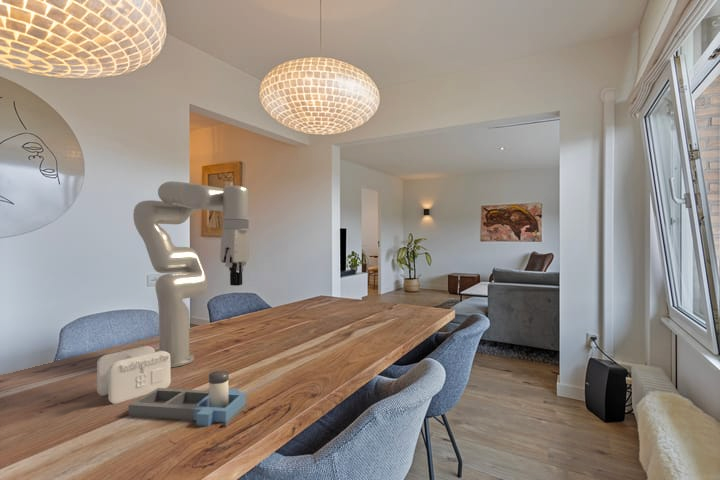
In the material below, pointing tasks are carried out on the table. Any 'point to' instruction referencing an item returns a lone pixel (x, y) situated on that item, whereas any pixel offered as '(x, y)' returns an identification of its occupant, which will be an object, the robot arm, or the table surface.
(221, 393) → the cream capped cylinder
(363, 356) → the table surface
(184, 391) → the three compartment tray
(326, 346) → the table surface
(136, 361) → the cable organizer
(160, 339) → the robot arm
